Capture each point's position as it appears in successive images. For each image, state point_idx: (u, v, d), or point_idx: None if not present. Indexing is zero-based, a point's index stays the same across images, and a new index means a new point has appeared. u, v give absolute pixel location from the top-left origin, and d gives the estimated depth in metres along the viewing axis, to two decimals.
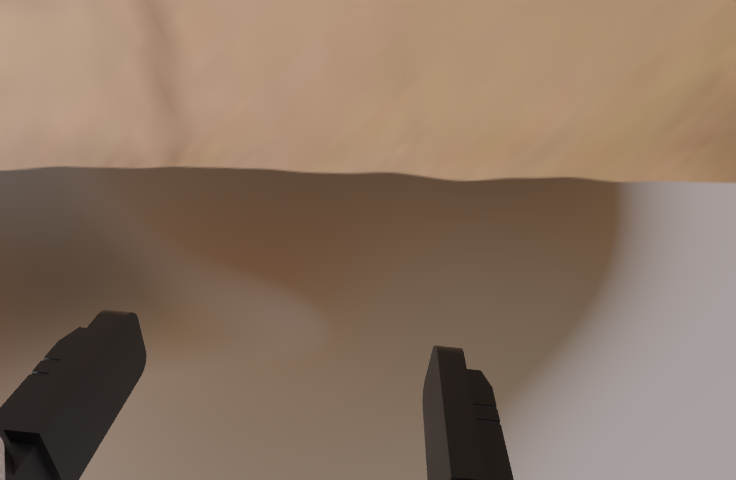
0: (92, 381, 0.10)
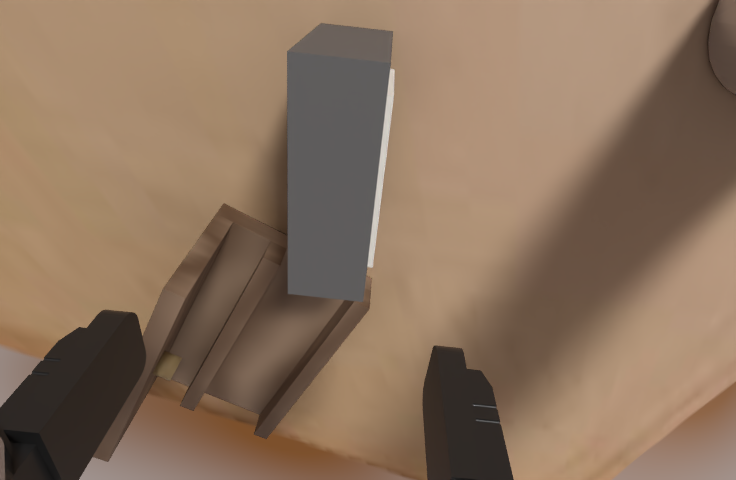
0: (92, 381, 0.10)
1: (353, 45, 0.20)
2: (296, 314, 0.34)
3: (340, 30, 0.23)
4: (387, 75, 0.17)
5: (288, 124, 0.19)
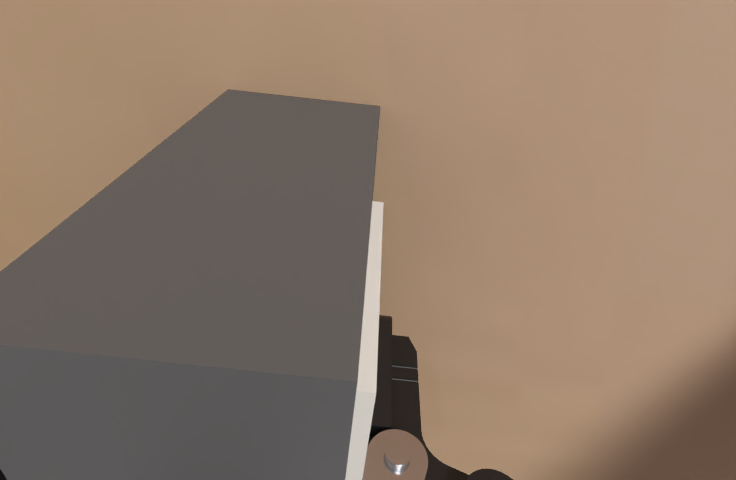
0: None
1: (256, 210, 0.07)
2: None
3: (258, 117, 0.10)
4: (345, 413, 0.04)
5: None
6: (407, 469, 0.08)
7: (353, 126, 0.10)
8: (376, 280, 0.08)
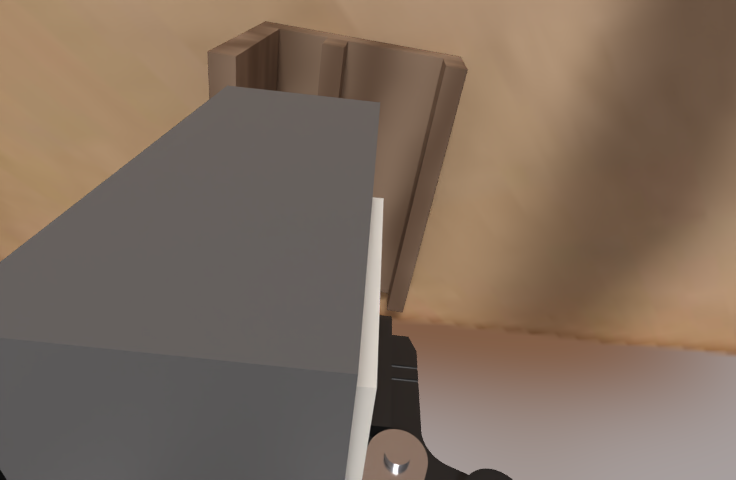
0: None
1: (255, 204, 0.06)
2: (386, 134, 0.29)
3: (257, 113, 0.10)
4: (346, 407, 0.04)
5: None
6: (407, 469, 0.08)
7: (353, 122, 0.10)
8: (376, 276, 0.08)
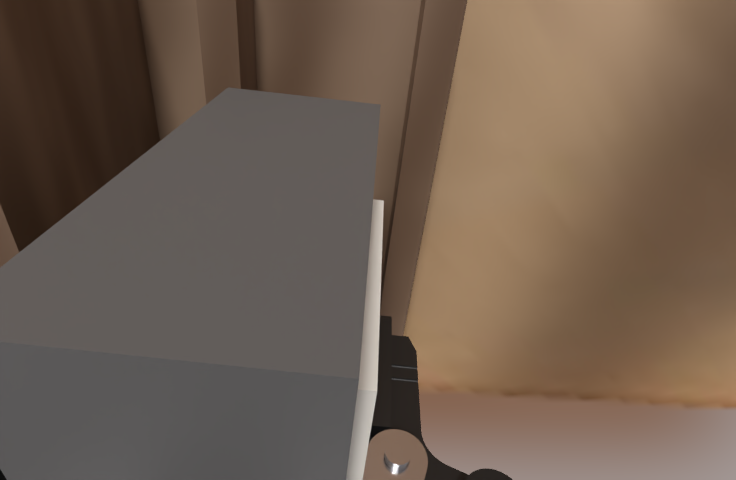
0: None
1: (256, 207, 0.07)
2: None
3: (258, 115, 0.10)
4: (347, 410, 0.04)
5: None
6: (407, 469, 0.08)
7: (353, 124, 0.10)
8: (377, 278, 0.08)
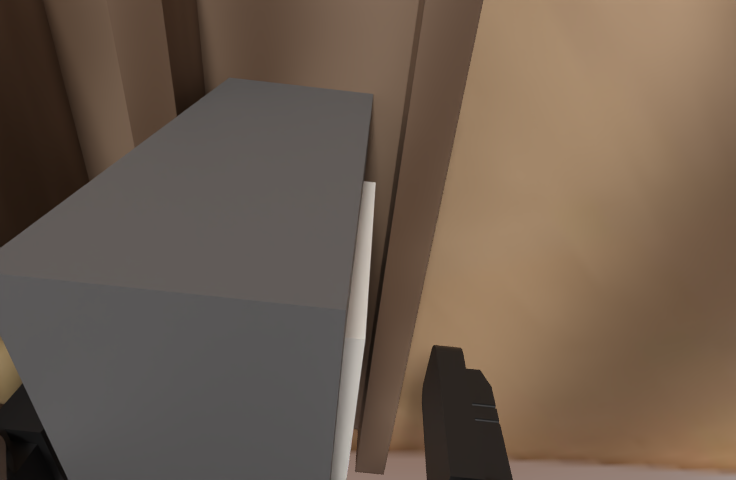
0: None
1: (257, 178, 0.07)
2: None
3: (258, 102, 0.11)
4: (336, 341, 0.05)
5: (50, 434, 0.06)
6: None
7: (347, 110, 0.11)
8: (367, 248, 0.09)
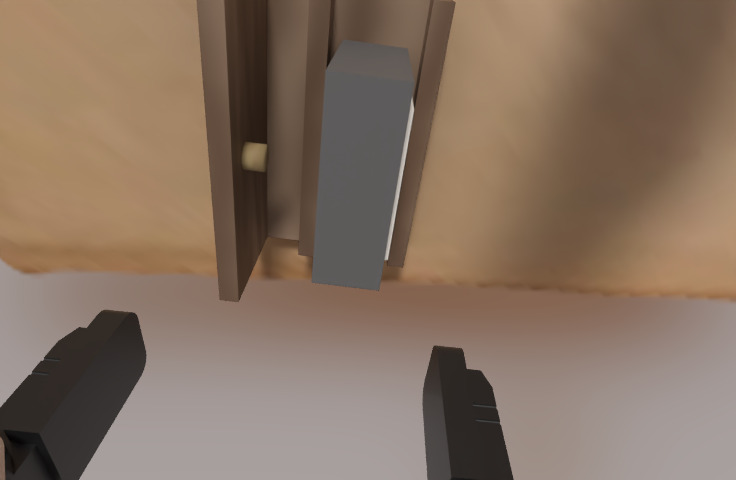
0: (91, 381, 0.10)
1: (378, 64, 0.22)
2: None
3: (362, 47, 0.26)
4: (411, 92, 0.20)
5: (322, 132, 0.21)
6: None
7: (399, 52, 0.26)
8: None
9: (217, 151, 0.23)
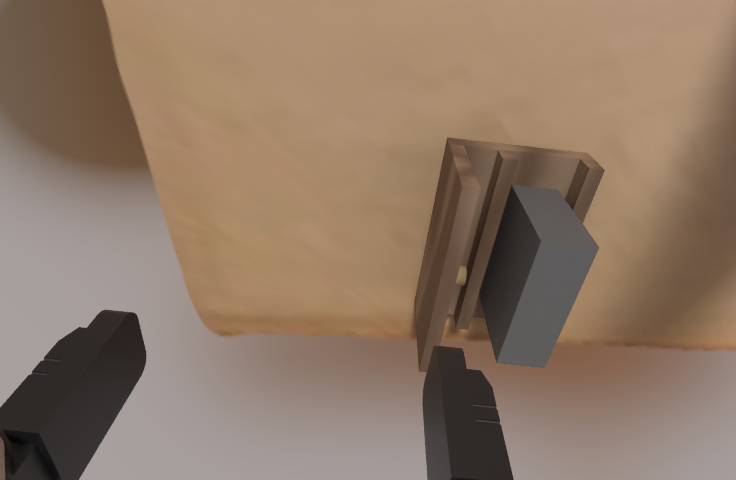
0: (91, 381, 0.10)
1: (561, 223, 0.33)
2: None
3: (532, 196, 0.36)
4: (595, 253, 0.31)
5: (529, 274, 0.32)
6: None
7: (558, 198, 0.36)
8: None
9: (446, 280, 0.34)
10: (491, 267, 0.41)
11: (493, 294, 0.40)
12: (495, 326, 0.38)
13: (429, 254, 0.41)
